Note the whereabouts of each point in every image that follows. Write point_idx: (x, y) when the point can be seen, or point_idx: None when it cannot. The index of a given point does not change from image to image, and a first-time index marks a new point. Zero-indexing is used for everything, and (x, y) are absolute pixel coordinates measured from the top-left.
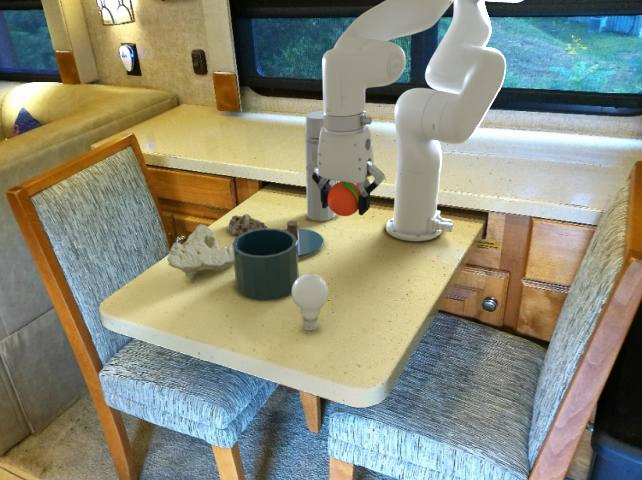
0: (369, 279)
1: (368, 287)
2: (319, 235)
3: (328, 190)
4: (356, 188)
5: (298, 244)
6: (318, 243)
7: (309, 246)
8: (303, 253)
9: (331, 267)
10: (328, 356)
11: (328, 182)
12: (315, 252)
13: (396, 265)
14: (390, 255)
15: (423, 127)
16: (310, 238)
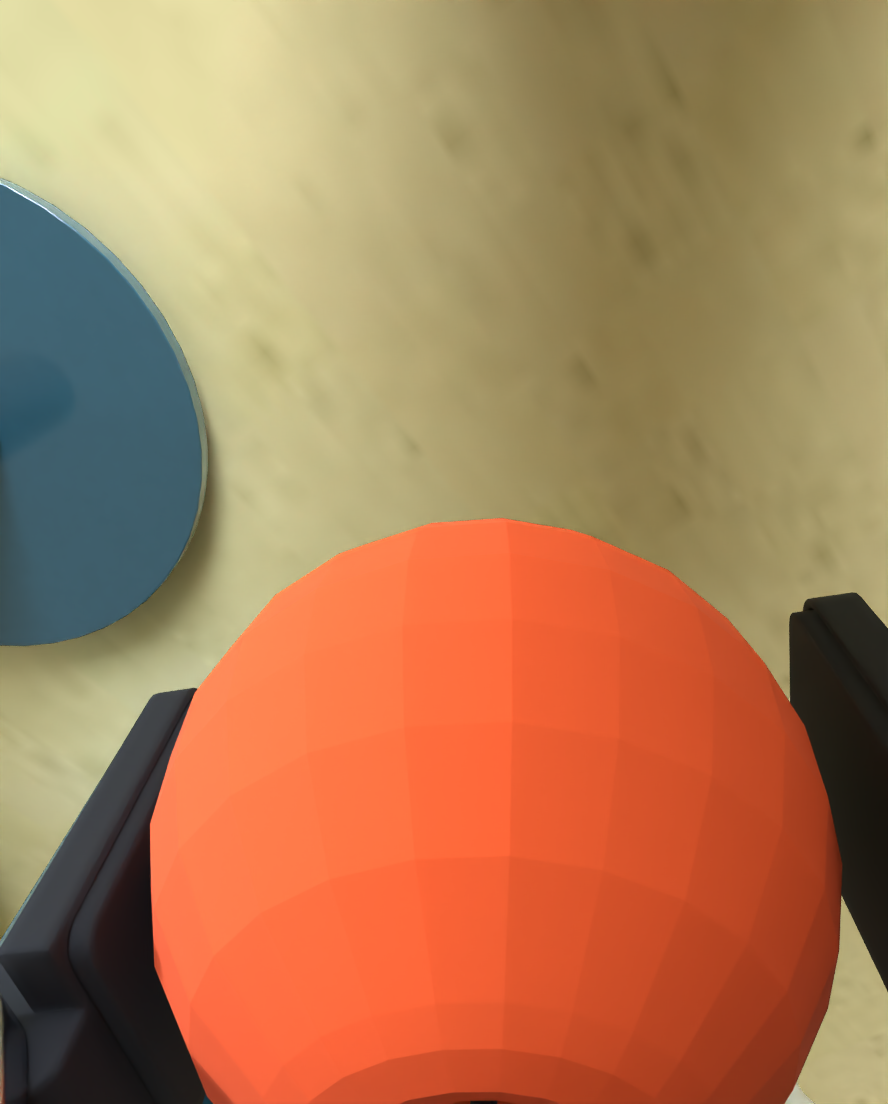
0: (750, 487)
1: (791, 572)
2: (3, 199)
3: (158, 998)
4: (797, 1025)
5: (26, 450)
6: (125, 339)
7: (115, 427)
8: (173, 539)
9: (429, 507)
10: (880, 1055)
11: (23, 1095)
12: (206, 444)
13: (851, 169)
14: (724, 25)
15: None
16: (1, 305)
